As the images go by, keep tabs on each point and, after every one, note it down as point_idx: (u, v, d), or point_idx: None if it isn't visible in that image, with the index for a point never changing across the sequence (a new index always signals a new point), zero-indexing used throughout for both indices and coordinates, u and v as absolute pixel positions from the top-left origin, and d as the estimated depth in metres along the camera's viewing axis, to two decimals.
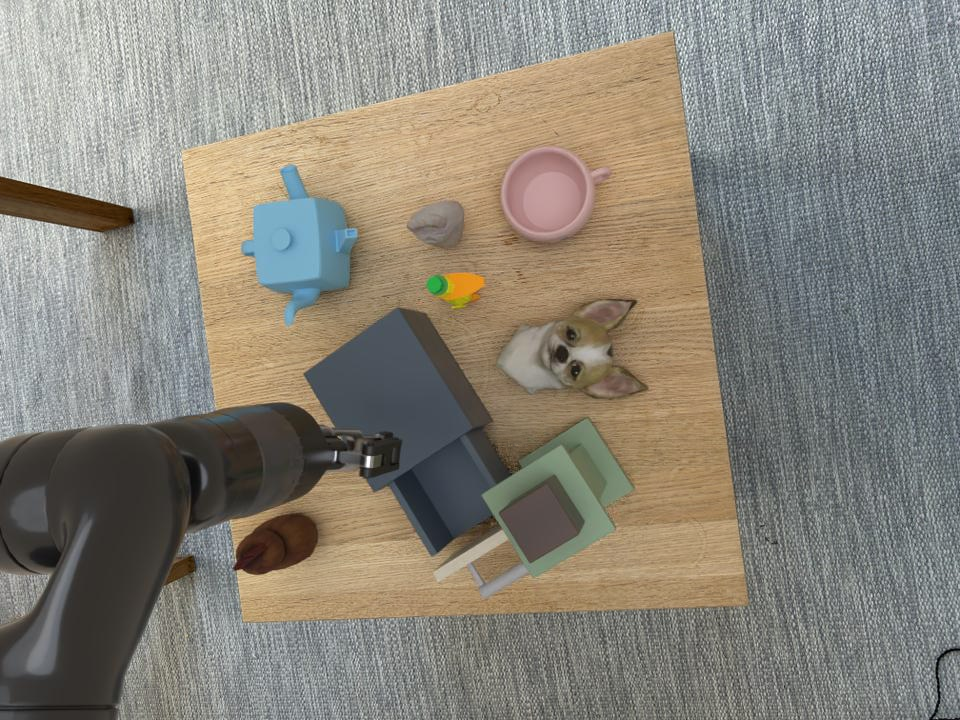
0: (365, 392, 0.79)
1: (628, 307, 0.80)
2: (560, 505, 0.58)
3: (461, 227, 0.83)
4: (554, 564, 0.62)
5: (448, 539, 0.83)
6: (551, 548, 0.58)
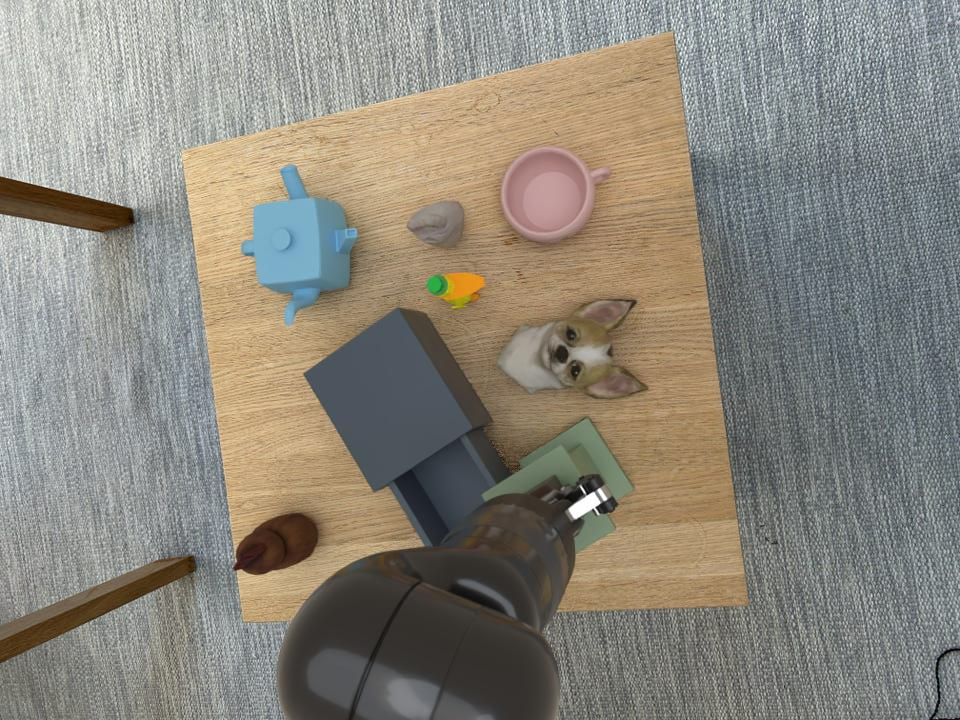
0: (365, 392, 0.79)
1: (628, 307, 0.80)
2: None
3: (461, 227, 0.83)
4: None
5: None
6: None
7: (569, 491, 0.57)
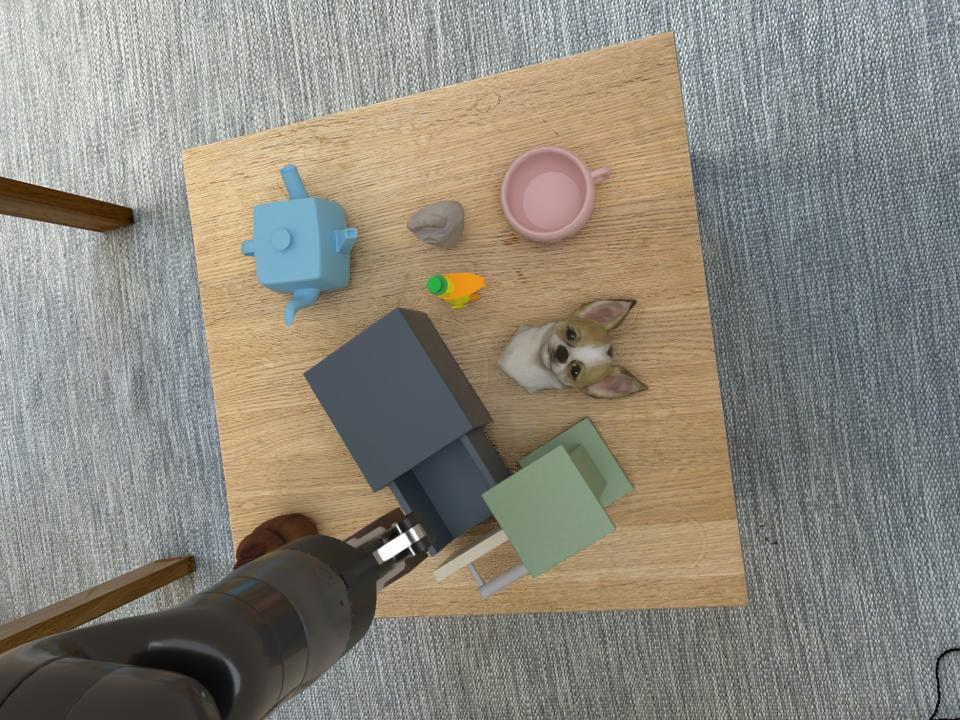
0: (365, 392, 0.79)
1: (628, 307, 0.80)
2: None
3: (461, 227, 0.83)
4: (554, 564, 0.62)
5: (448, 539, 0.83)
6: None
7: None
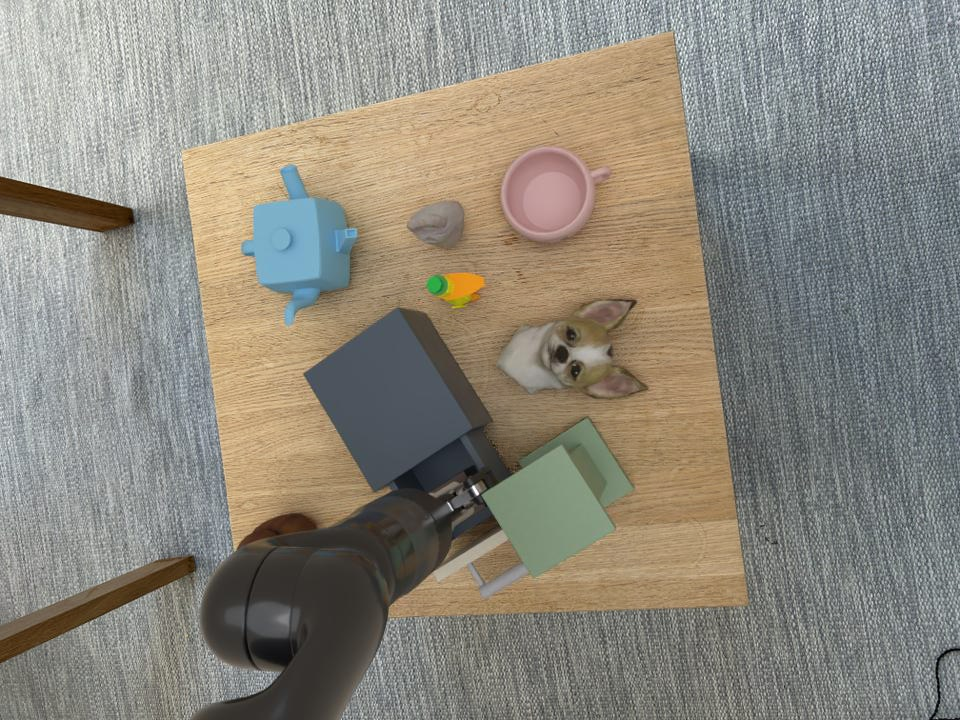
0: (365, 392, 0.79)
1: (628, 307, 0.80)
2: None
3: (461, 227, 0.83)
4: (554, 564, 0.62)
5: None
6: None
7: None
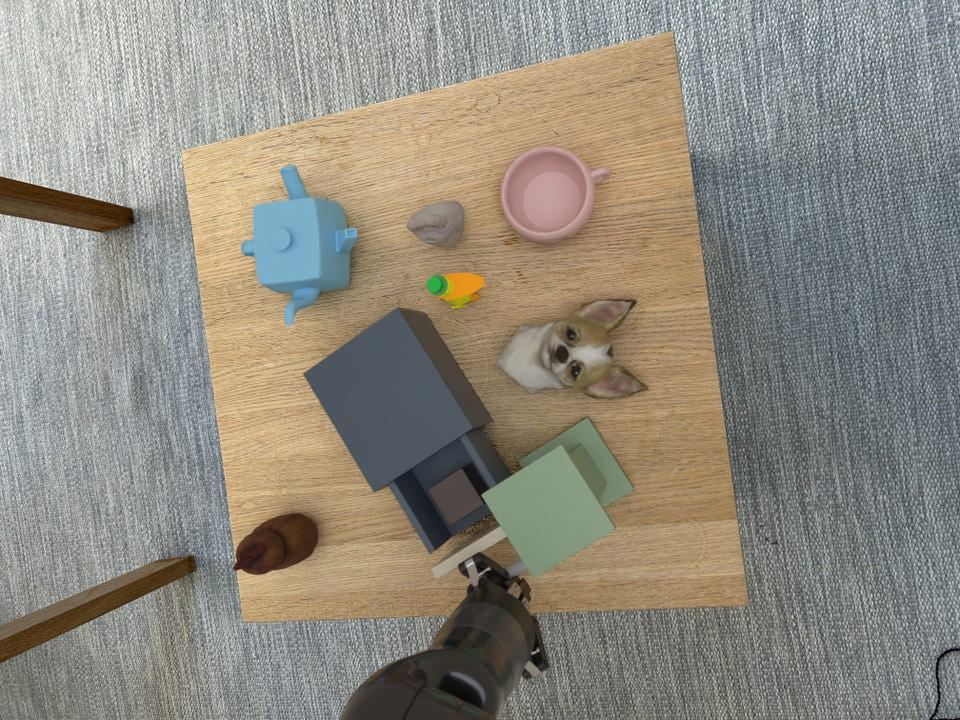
0: (365, 392, 0.79)
1: (628, 307, 0.80)
2: (471, 483, 0.80)
3: (461, 227, 0.83)
4: (554, 564, 0.62)
5: (446, 536, 0.83)
6: (464, 514, 0.80)
7: None
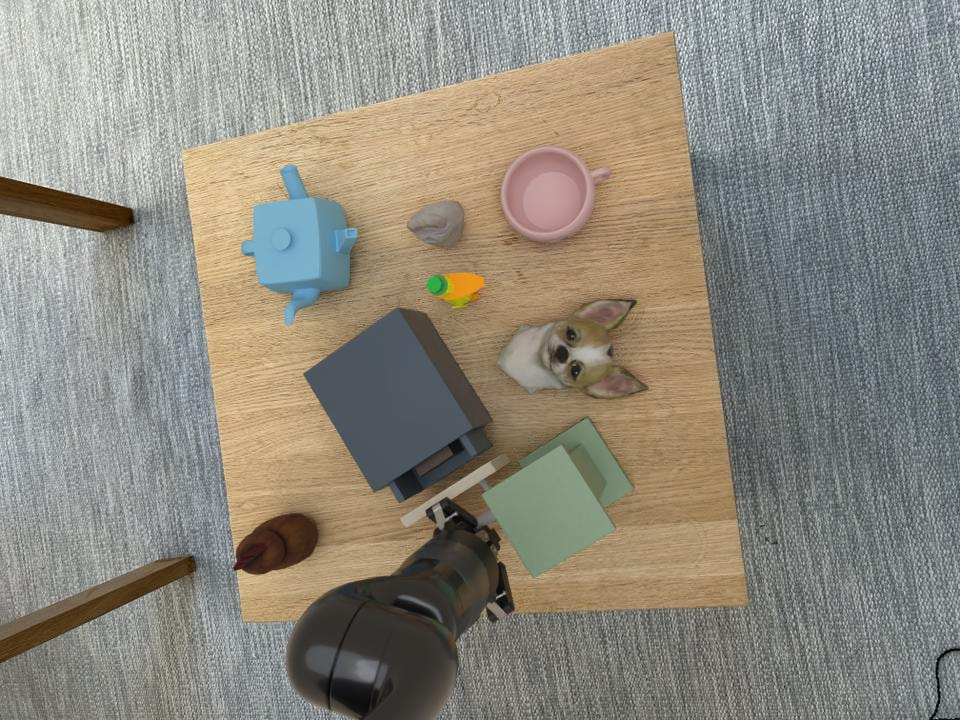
0: (365, 392, 0.79)
1: (628, 307, 0.80)
2: None
3: (461, 227, 0.83)
4: (554, 564, 0.62)
5: (417, 488, 0.84)
6: (434, 465, 0.81)
7: None
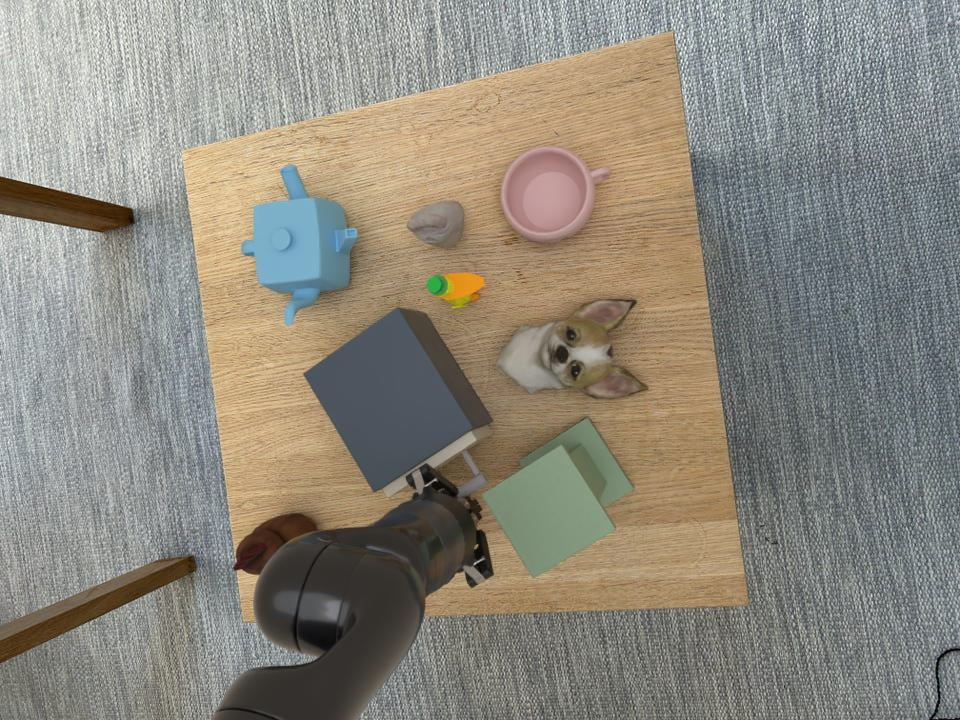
0: (365, 392, 0.79)
1: (628, 307, 0.80)
2: None
3: (461, 227, 0.83)
4: (554, 564, 0.62)
5: None
6: None
7: None
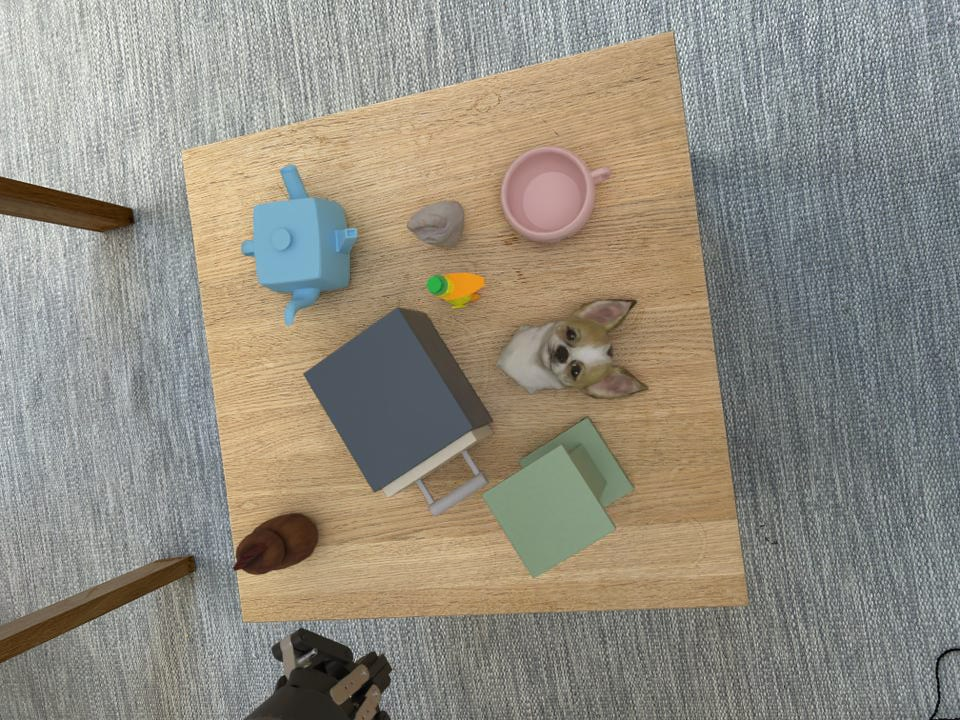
0: (365, 392, 0.79)
1: (628, 307, 0.80)
2: None
3: (461, 227, 0.83)
4: (554, 564, 0.62)
5: None
6: None
7: None
